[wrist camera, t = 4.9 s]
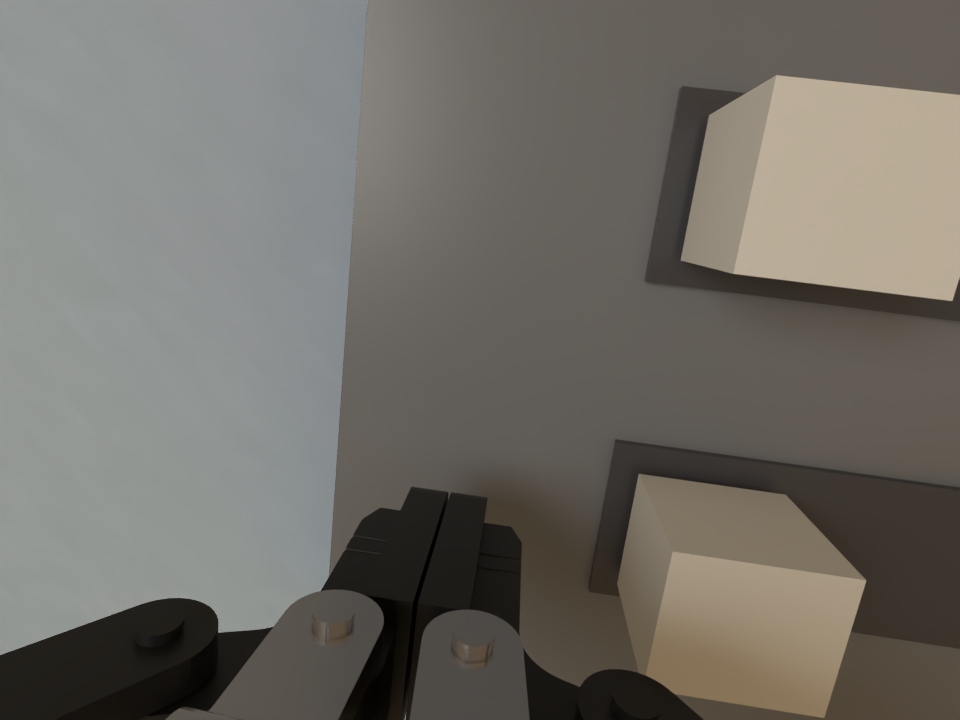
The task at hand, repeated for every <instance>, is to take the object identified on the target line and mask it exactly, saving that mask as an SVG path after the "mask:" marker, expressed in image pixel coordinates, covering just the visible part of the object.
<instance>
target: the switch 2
mask: <svg viewBox="0 0 960 720" xmlns="http://www.w3.org/2000/svg"><path fill="white" fill-rule="evenodd" d="M865 584H866V579H865V578H864V577H863V576H862V575H861V574H860V573H859V572H858V571H857V570H856V569H855V568H854V567H853V566H852V564H851V563H850V562H849V561H848V560H847V559H846V558H845V557H844V556H843V555H842V554H841V553H840V552H839V551H838V550H837V549H836V548H835V546H834V545H833V544H832V543H831V542H830V541H829V540H828V539H827V538H826V537H825V536H824V535H823V534H822V533H821V532H820V531H819V529H818V528H817V527H816V526H815V525H814V524H813V523H812V522H811V521H810V520H809V519H808V518H807V517H806V516H805V515H804V514H803V512H802V511H801V510H800V509H799V508H798V507H797V506H796V505H795V504H794V503H793V502H792V501H791V500H790V499H789V498H788V497H787V495H785V494H778V493H771V492H764V491H757V490H750V489H743V488H736V487H729V486H722V485H715V484H707V483H700V482H693V481H686V480H679V479H672V478H665V477H658V476H651V475H644V474H639V475H638V480H637V485H636V490H635V495H634V500H633V505H632V510H631V515H630V520H629V526H628V531H627V536H626V541H625V546H624V551H623V556H622V561H621V566H620V571H619V577H618V582H617V585H618V590H619V594H620V598H621V602H622V606H623V610H624V614H625V618H626V622H627V626H628V631H629V635H630V639H631V643H632V647H633V651H634V655H635V659H636V663H637V668H638V672H639V673H640V674H643V675H646V676H648V677H650V678H652V679H654V680H656V681H657V682H659V683H661V684H662V685H664V686H665V687H666V688H668V689H669V690H670V691H671V692H673V693H674V694H678V695H684V696H690V697H696V698H702V699H709V700H715V701H721V702H727V703H733V704H740V705H746V706H752V707H758V708H765V709H771V710H777V711H783V712H789V713H796V714H802V715H808V716H814V717H820V718H824V717H825V714H826V711H827V707H828V704H829V701H830V698H831V694H832V691H833V688H834V685H835V681H836V678H837V675H838V671H839V668H840V665H841V662H842V658H843V655H844V652H845V649H846V645H847V642H848V639H849V636H850V632H851V629H852V626H853V623H854V619H855V616H856V613H857V610H858V606H859V603H860V600H861V597H862V593H863V590H864V587H865Z"/></svg>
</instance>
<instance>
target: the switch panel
mask: <svg viewBox="0 0 960 720" xmlns="http://www.w3.org/2000/svg"><path fill="white" fill-rule="evenodd" d="M776 75H780V76H789V77H798V78H807V79H817V80H826V81H835V82H845V83H854V84H863V85H872V86H882V87H891V88H900V89H910V90H919V91H928V92H937V93H947V94H956V95H960V0H368V4H367V19H366V34H365V48H364V63H363V78H362V93H361V108H360V123H359V138H358V153H357V168H356V183H355V197H354V212H353V227H352V242H351V257H350V272H349V287H348V302H347V317H346V332H345V347H344V361H343V376H342V391H341V406H340V421H339V436H338V451H337V466H336V481H335V496H334V510H333V525H332V540H331V555H330V570H329V576H330V574H331V573H332V571H333V569H334V567H335V566H336V564H337V562H338V560H339V559H340V557H341V555H342V553H343V552H344V551H345V550H346V546H347V545H348V543H349V541H350V539H351V538H353V534H354V532H355V531H356V529H357V527H358V525H359V524H360V522H361V520H362V519H363V518H365V517H366V516H368V515H369V514H371V513H373V512H374V511H376V510H377V509H379V508H387V509H394V510H401V508H402V506H403V504H404V501H405V499H406V497H407V495H408V493H409V490H410V488H411V487H419V488H426V489H433V490H439V491H446V492H448V493H449V497H450V494H451V492H454V493H461V494H468V495H475V496H482V497H488V498H487V507H486V515H485V523H490V524H497V525H504V526H511V527H512V528H513V530H514V531H515V533H516V534H517V536H518V537H519V539H520V540H521V542H522V556H521V591H520V626H519V633H520V639H521V641H522V644H523V648H524V650H525V651H526V653H527V654H528V655H529V657H530V658H531V659H532V660H533V661H534V662H535V663H536V664H537V665H538V666H540V667H541V668H542V669H543V670H545V671H547V672H548V673H550V674H551V675H553V676H555V677H558V678H560V679H562V680H564V681H567V682H569V683H571V684H574V685H576V686H578V687H580V686H581V685H582V683H583V681H584V680H585V679H586V678H587V677H589V676H590V675H592V674H594V673H596V672H599V671H602V670H607V669H623V670H629V671H633V672H637V673H639V672H638V668H637V663H636V659H635V655H634V651H633V647H632V643H631V639H630V635H629V631H628V626H627V622H626V618H625V614H624V610H623V606H622V602H621V598H620V594H619V590H618V585H617V582H618V577H619V571H620V566H621V561H622V556H623V551H624V546H625V541H626V536H627V531H628V526H629V520H630V515H631V510H632V505H633V500H634V495H635V490H636V485H637V480H638V475H639V474H644V475H651V476H658V477H665V478H672V479H679V480H686V481H693V482H700V483H707V484H715V485H722V486H729V487H736V488H743V489H750V490H757V491H764V492H771V493H778V494H785V495H787V497H788V498H789V499H790V500H791V501H792V502H793V503H794V504H795V505H796V506H797V507H798V508H799V509H800V510H801V511H802V512H803V514H804V515H805V516H806V517H807V518H808V519H809V520H810V521H811V522H812V523H813V524H814V525H815V526H816V527H817V528H818V529H819V531H820V532H821V533H822V534H823V535H824V536H825V537H826V538H827V539H828V540H829V541H830V542H831V543H832V544H833V545H834V546H835V548H836V549H837V550H838V551H839V552H840V553H841V554H842V555H843V556H844V557H845V558H846V559H847V560H848V561H849V562H850V563H851V564H852V566H853V567H854V568H855V569H856V570H857V571H858V572H859V573H860V574H861V575H862V576H863V577H864V578H865V579H866V584H865V587H864V590H863V593H862V597H861V600H860V603H859V606H858V610H857V613H856V616H855V619H854V623H853V626H852V629H851V632H850V636H849V639H848V642H847V645H846V649H845V652H844V655H843V658H842V662H841V665H840V668H839V671H838V675H837V678H836V681H835V685H834V688H833V691H832V694H831V698H830V701H829V704H828V707H827V711H826V714H825V717H824V718H820V717H814V716H808V715H802V714H796V713H789V712H783V711H777V710H771V709H765V708H758V707H752V706H746V705H740V704H733V703H727V702H721V701H715V700H709V699H702V698H696V697H690V696H684V695H678V694H675V695H676V696H677V697H678V698H679V699H681V700H682V701H683V702H684V703H685V704H686V705H688V706H689V707H690V708H691V709H692V710H693V711H694V712H696V713H697V714H698V715H699V716H700V717H701V718H702V719H704V720H960V278H959V281H958V284H957V288H956V291H955V294H954V297H953V301H947V300H939V299H931V298H923V297H915V296H907V295H899V294H891V293H883V292H875V291H867V290H859V289H851V288H843V287H835V286H827V285H819V284H811V283H803V282H795V281H787V280H779V279H771V278H763V277H755V276H747V275H739V274H732V273H728V272H724V271H720V270H716V269H712V268H708V267H704V266H700V265H697V264H693V263H689V262H685V261H681V255H682V250H683V245H684V240H685V235H686V230H687V225H688V220H689V215H690V210H691V205H692V199H693V194H694V189H695V184H696V179H697V174H698V169H699V164H700V159H701V154H702V148H703V143H704V138H705V133H706V128H707V123H708V118H709V115H710V114H712V113H714V112H715V111H717V110H719V109H720V108H722V107H724V106H725V105H727V104H729V103H730V102H732V101H734V100H735V99H737V98H739V97H741V96H742V95H744V94H746V93H747V92H749V91H751V90H752V89H754V88H756V87H757V86H759V85H761V84H762V83H764V82H766V81H767V80H769V79H771V78H773V77H774V76H776ZM449 497H448V500H449Z"/></svg>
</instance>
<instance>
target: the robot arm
mask: <svg viewBox="0 0 960 720" xmlns="http://www.w3.org/2000/svg"><path fill="white" fill-rule="evenodd" d="M448 497H449V493H448V492H446V491H439V490H433V489H426V488H419V487H411V488H410V490H409V493H408V495H407V497H406V499H405V501H404V504H403V506H402V508H401V510H394V509H387V508H379V509H377V510H376V511H374V512H373V513H371V514H369V515H368V516H366V517H365V518H363V519H362V520H361V522H360V524H359V525H358V527H357V529H356V531H355V532H354V534H353V538H351V539H350V541H349V543H348V545H347V546H346V550H345V551H344V552H343V553H342V555H341V557H340V559H339V560H338V562H337V564H336V566H335V567H334V569H333V571H332V573H331V574H330V576H329V578H328V580H327V581H326V583H325V585H324V587H323V588H322V590H321V591H319V592H315V593H312V594H309V595H307V596H304V597H302V598H301V599H299V600H297V601H296V602H294V603H293V604H292V605H291V606H290V607H289V608H288V609H287V610H286V611H285V612H284V614H283V615H282V616H281V618H280V619H279V620H278V622H277V623H276V624H275V626H274V627H271V628H266V629H260V630H250V631H237V632H224V633H218V618H217V615H216V614H215V612H214V610H212V609H211V608H210V607H209V606H207V605H206V604H204V603H202V602H199V601H196V600H191V599H183V598H169V599H161V600H156V601H151V602H148V603H145V604H141V605H138V606H136V607H133V608H130V609H127V610H124V611H122V612H119V613H116V614H113V615H111V616H108V617H105V618H102V619H100V620H97V621H94V622H91V623H88V624H86V625H83V626H80V627H77V628H75V629H72V630H69V631H66V632H64V633H61V634H58V635H55V636H52V637H50V638H47V639H44V640H41V641H39V642H36V643H33V644H30V645H28V646H25V647H22V648H19V649H16V650H14V651H11V652H8V653H5V654H3V655H0V720H404V719H405V715H406V720H704V719H702V718H701V717H700V716H699V715H698V714H697V713H696V712H694V711H693V710H692V709H691V708H690V707H689V706H688V705H686V704H685V703H684V702H683V701H682V700H681V699H679V698H678V697H677V696H676V695H675V694H674V693H673V692H671V691H670V690H669V689H668V688H666V687H665V686H664V685H662V684H661V683H659V682H657V681H656V680H654V679H652V678H650V677H648V676H646V675H643V674H640V673H637V672H633V671H629V670H623V669H607V670H602V671H599V672H596V673H594V674H592V675H590V676H589V677H587V678H586V679H585V680H584V681H583V683H582V685H581V686H580V687H578V686H576V685H574V684H571V683H569V682H567V681H564V680H562V679H560V678H558V677H555V676H553V675H551V674H550V673H548V672H547V671H545V670H543V669H542V668H541V667H540V666H538V665H537V664H536V663H535V662H534V661H533V660H532V659H531V658H530V657H529V655H528V654H527V653H526V651H525V650H524V648H523V644H522V641H521V639H520V633H519V626H520V591H521V556H522V542H521V540H520V539H519V537H518V536H517V534H516V533H515V531H514V530H513V528H512V527H511V526H504V525H497V524H490V523H485V515H486V507H487V498H488V497H482V496H475V495H468V494H461V493H454V492H451V494H450V497H449V500H448ZM406 711H407V712H406Z"/></svg>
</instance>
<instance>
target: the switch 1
mask: <svg viewBox="0 0 960 720" xmlns="http://www.w3.org/2000/svg"><path fill="white" fill-rule="evenodd" d="M681 261H685V262H689V263H693V264H697V265H700V266H704V267H708V268H712V269H716V270H720V271H724V272H728V273H732V274H739V275H747V276H755V277H763V278H771V279H779V280H787V281H795V282H803V283H811V284H819V285H827V286H835V287H843V288H851V289H859V290H867V291H875V292H883V293H891V294H899V295H907V296H915V297H923V298H931V299H939V300H947V301H953V297H954V294H955V291H956V288H957V284H958V281H959V278H960V95H956V94H947V93H937V92H928V91H919V90H910V89H900V88H891V87H882V86H872V85H863V84H854V83H845V82H835V81H826V80H817V79H807V78H798V77H789V76H780V75H776V76H774V77H773V78H771V79H769V80H767V81H766V82H764V83H762V84H761V85H759V86H757V87H756V88H754V89H752V90H751V91H749V92H747V93H746V94H744V95H742V96H741V97H739V98H737V99H735V100H734V101H732V102H730V103H729V104H727V105H725V106H724V107H722V108H720V109H719V110H717V111H715V112H714V113H712V114H710V115H709V118H708V123H707V128H706V133H705V138H704V143H703V148H702V154H701V159H700V164H699V169H698V174H697V179H696V184H695V189H694V194H693V199H692V205H691V210H690V215H689V220H688V225H687V230H686V235H685V240H684V245H683V250H682V255H681Z"/></svg>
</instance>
